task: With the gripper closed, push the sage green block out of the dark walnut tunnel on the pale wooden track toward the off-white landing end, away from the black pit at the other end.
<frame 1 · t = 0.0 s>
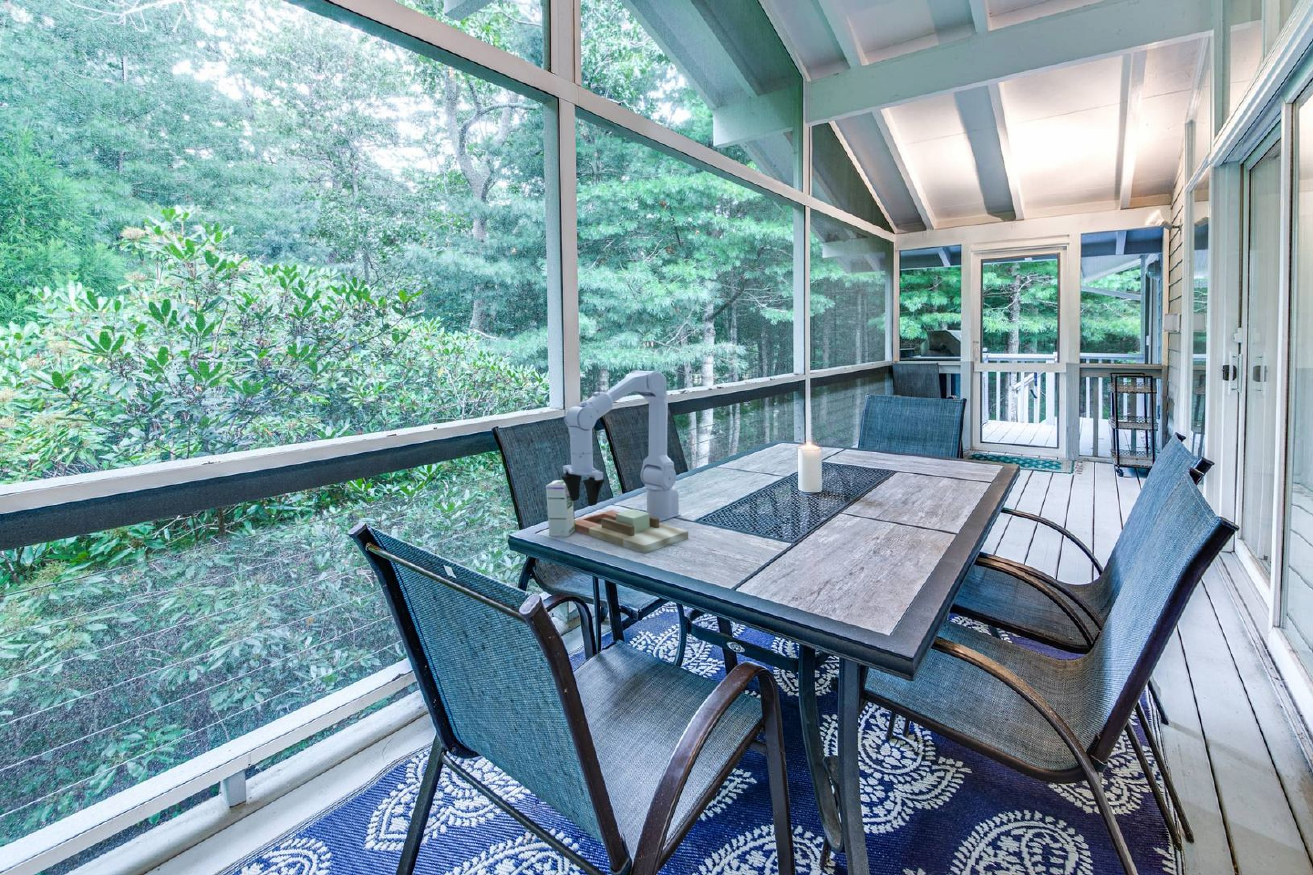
hand: (583, 502, 166), 10 cm above the table, tool pointing down, fingers open, 7 cm apart
sage block: (632, 527, 170), point 2 cm above the table, touching trap track
trap track: (626, 533, 172), on the table
syrup box: (562, 534, 173), on the table, touching gripper
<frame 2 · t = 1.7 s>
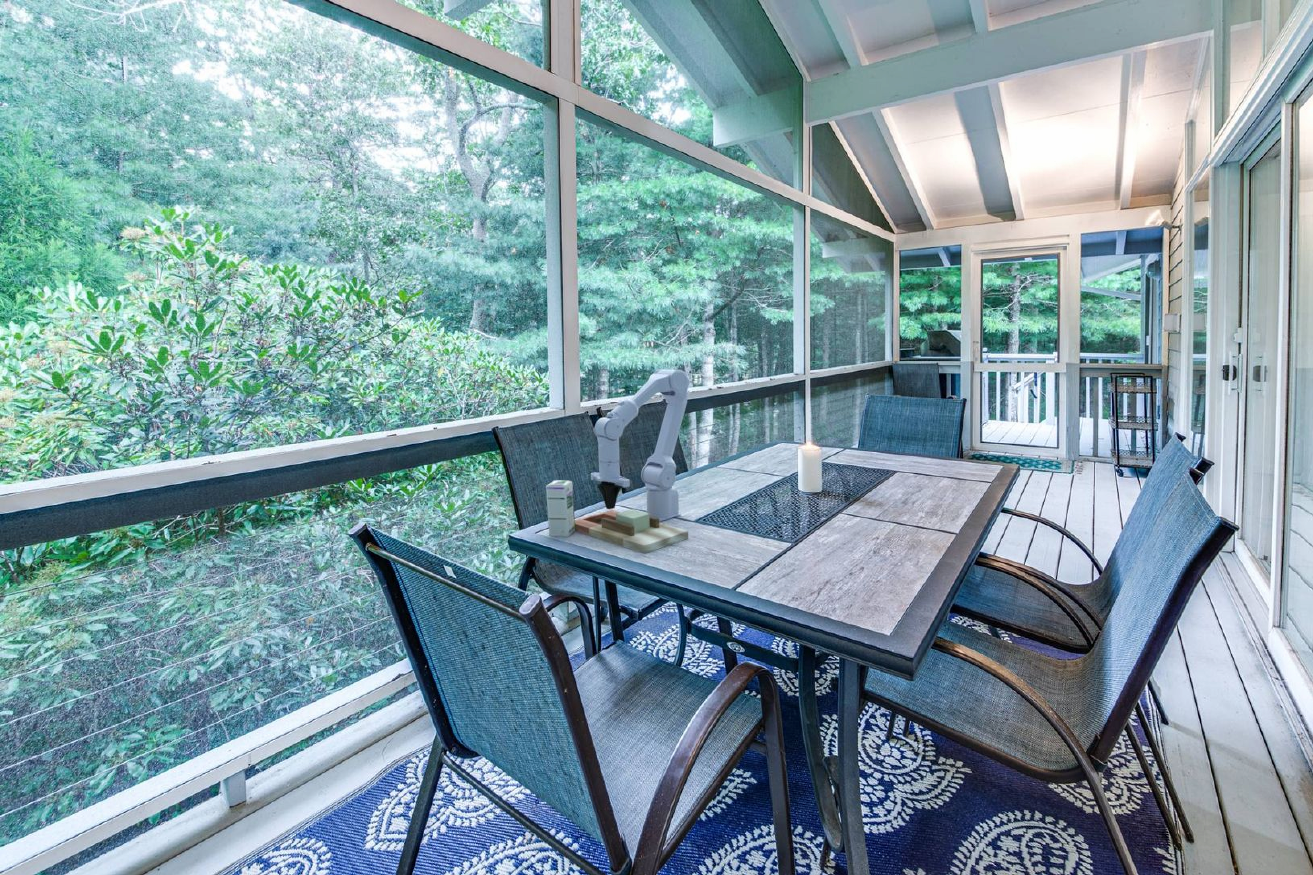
hand: (610, 508, 175), 6 cm above the table, tool pointing down, fingers closed
syrup box: (562, 534, 173), on the table
everything else where it was.
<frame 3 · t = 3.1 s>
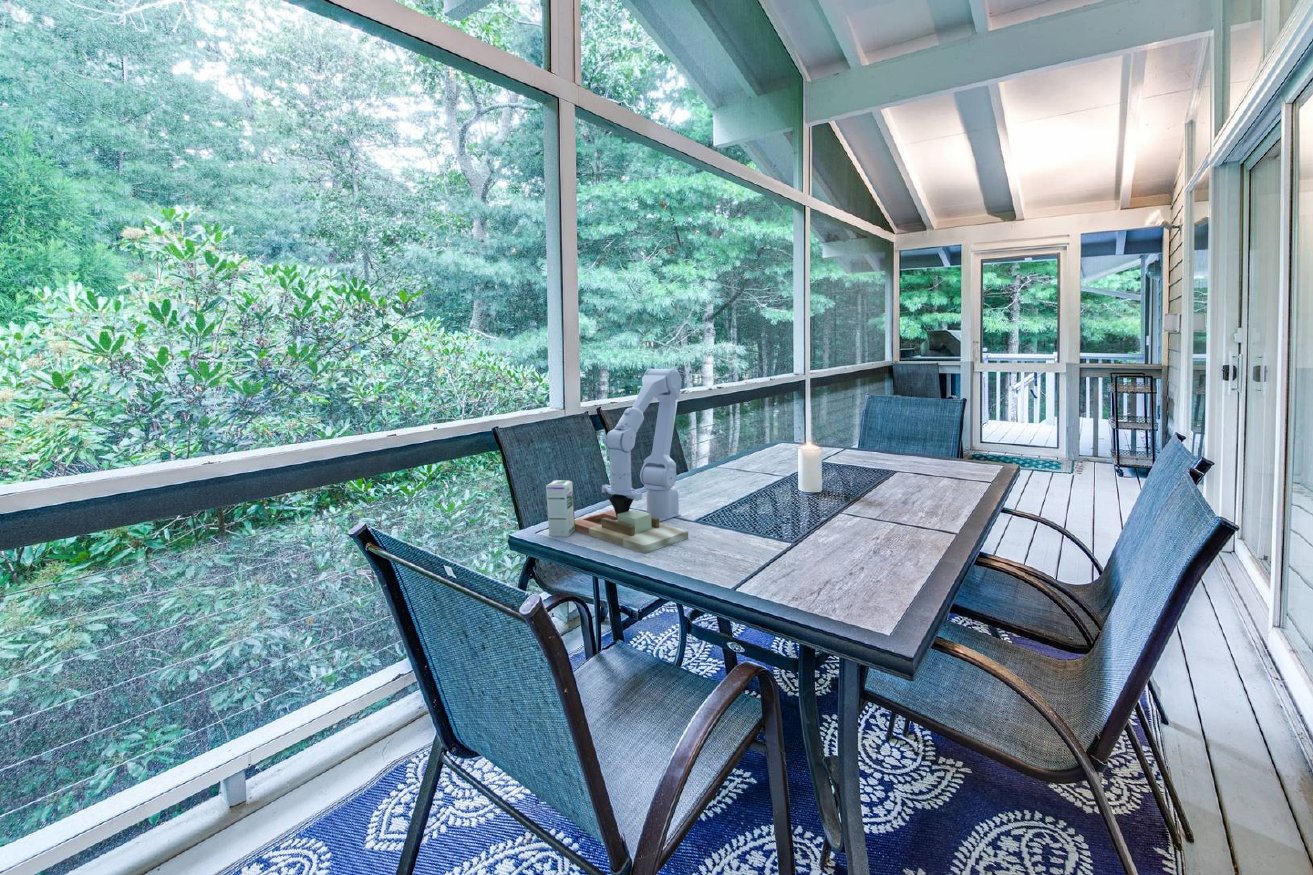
hand: (622, 521, 173), 3 cm above the table, tool pointing down, fingers closed
sage block: (634, 528, 169), point 2 cm above the table, touching gripper, trap track
everything else where it was.
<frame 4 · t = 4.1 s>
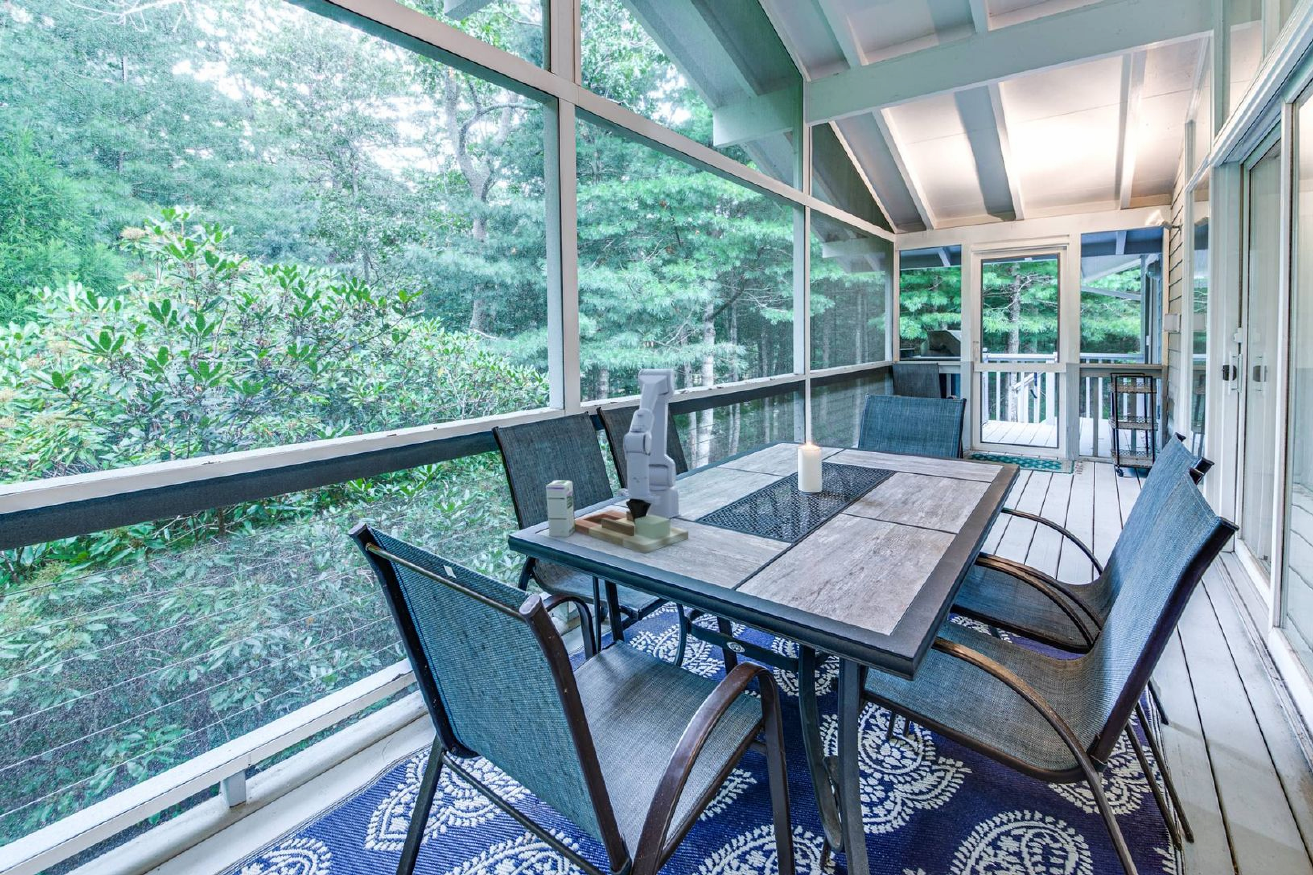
hand: (639, 526, 168), 3 cm above the table, tool pointing down, fingers closed
sage block: (652, 533, 164), point 2 cm above the table, touching gripper
everything else where it was.
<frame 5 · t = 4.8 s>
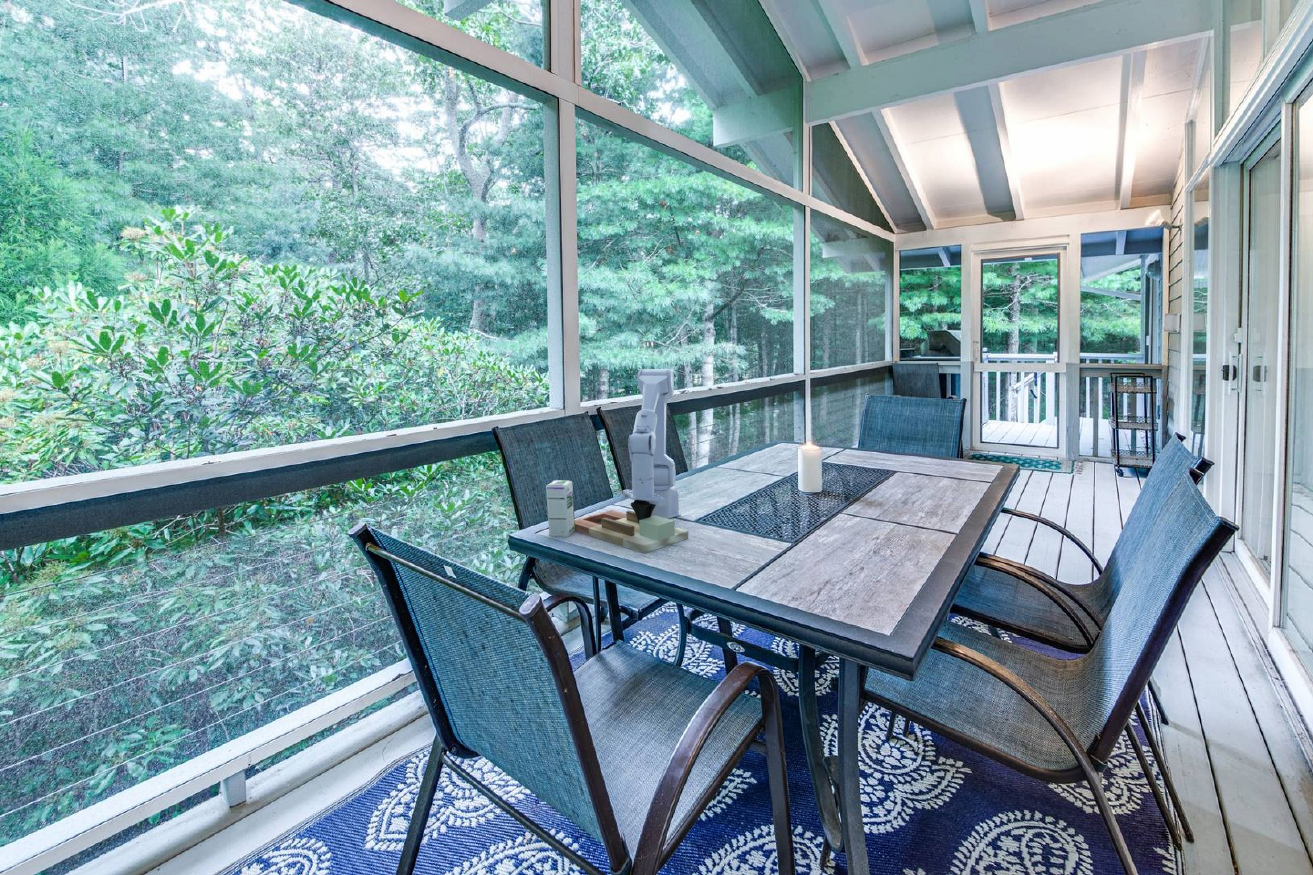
hand: (644, 527, 166), 3 cm above the table, tool pointing down, fingers closed
sage block: (657, 535, 163), point 2 cm above the table, touching gripper, trap track
everything else where it was.
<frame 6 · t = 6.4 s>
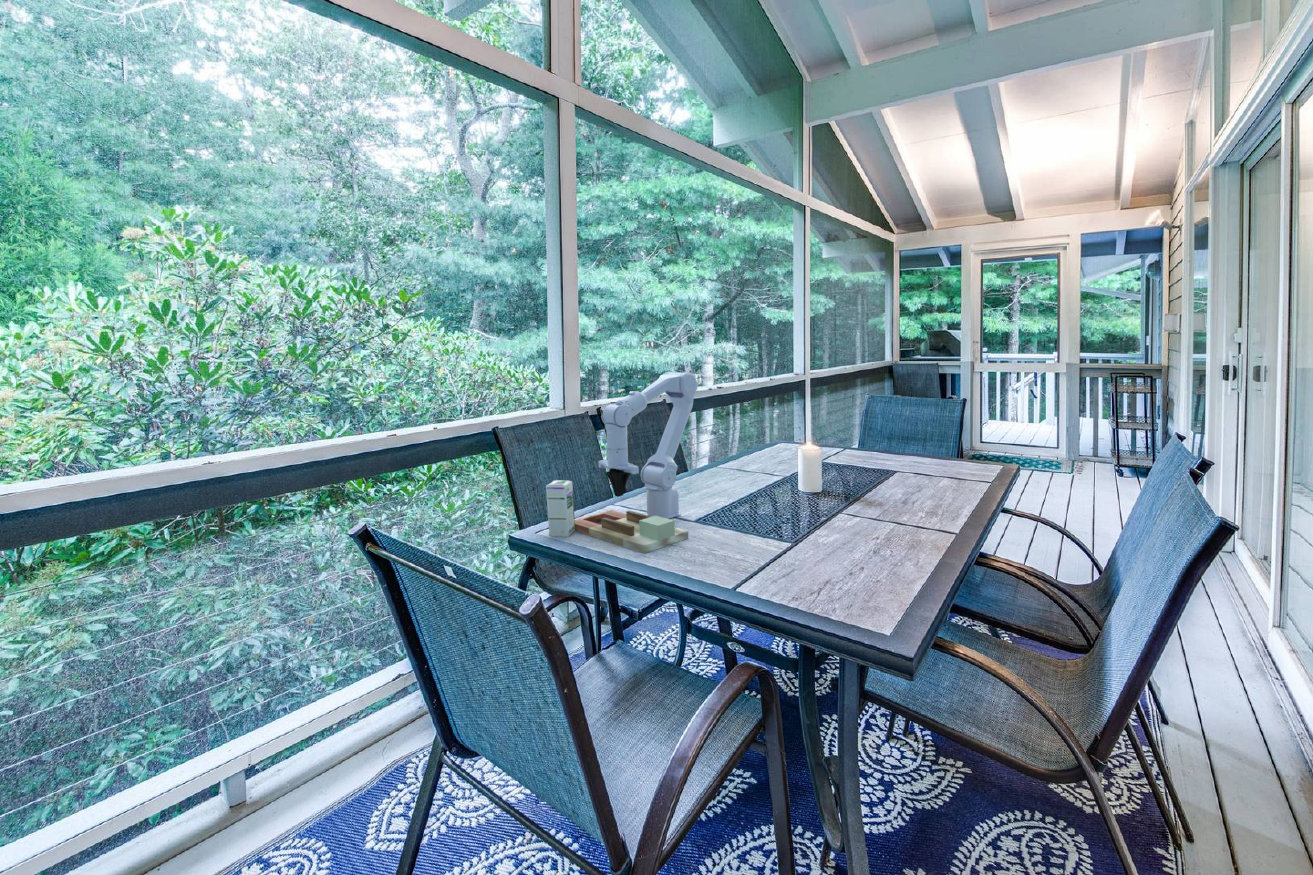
hand: (619, 495, 175), 9 cm above the table, tool pointing down, fingers closed
sage block: (657, 535, 163), point 2 cm above the table, touching trap track
everything else where it was.
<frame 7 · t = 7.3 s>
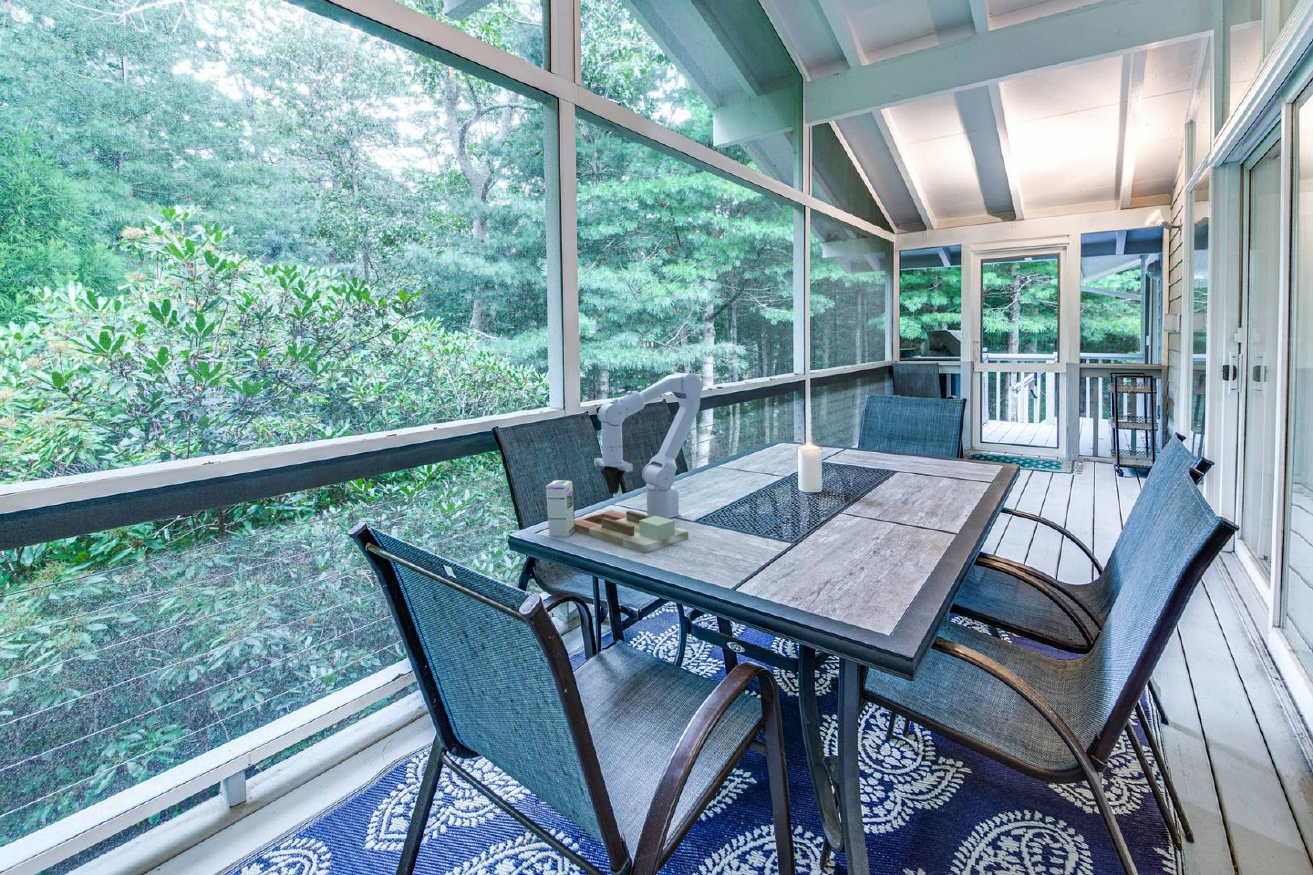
hand: (613, 492, 178), 9 cm above the table, tool pointing down, fingers closed
nothing on the table moved.
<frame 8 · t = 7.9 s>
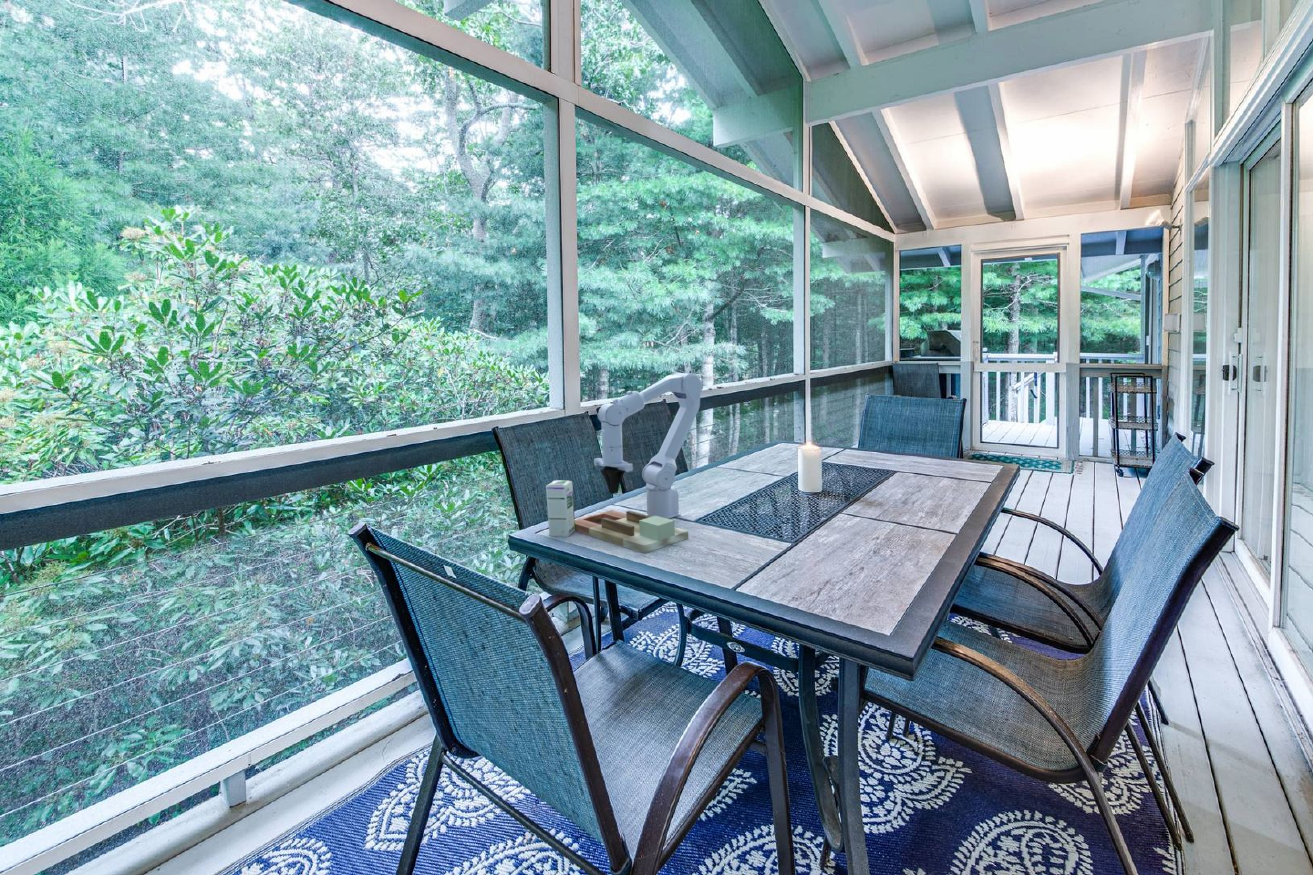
hand: (613, 492, 178), 9 cm above the table, tool pointing down, fingers closed
nothing on the table moved.
at the end: sage block 0.1 cm from the target spot, point 2.0 cm above the table; sage block tilted 0° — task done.
